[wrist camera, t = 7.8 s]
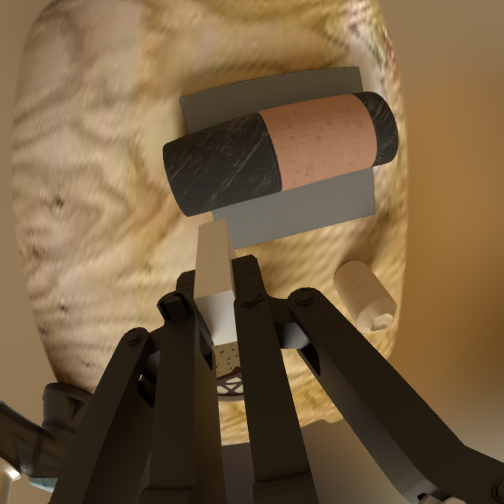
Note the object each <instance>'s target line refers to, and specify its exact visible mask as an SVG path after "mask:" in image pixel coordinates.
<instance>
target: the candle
mask: <svg viewBox="0 0 504 504" xmlns="http://www.w3.org/2000/svg"><path fill="white" fill-rule="evenodd" d="M333 282H334V286H335V289H336V290H337V292H338V294H339V296H340V298H341V299H342V301H343V303H344V305H345V307H346V308H347V310H348V312H349V314H350V316H351V317H352V319H353V321H354V323H355V325H356V327H357V328H358V330H359V331H361V332H363V333H375V332H378V331H381V330H383V329H386V328H387V327H389V326H390V325H392V323H393V319H394V316H395V313H396V310H397V305H396V303H395V301H394V300H393V298H392V297H391V296H390V294H389V293H388V292H387V290H386V289H385V288H384V286H383V285H382V284H381V282H380V281H379V280H378V278H377V277H376V276H375V275H374V273H373V272H372V271H371V269H370V268H369V267H368V266H367V265H366V264H365V263H364V262H362V261H360V260H352V261H349V262H347V263H345V264H343V265H342V266H341V267H340V268H339V269H338V270H337V271H336V273H335V275H334V280H333Z"/></svg>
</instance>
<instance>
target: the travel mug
mask: <svg viewBox="0 0 504 504" xmlns="http://www.w3.org/2000/svg"><path fill="white" fill-rule="evenodd" d="M397 150H398V130H397V125H396V121H395V118H394V116H393V113H392V111H391V109H390V107H389V106H388V104H387V103H386V101H385V100H384V99H383V98H382V97H381V96H380V95H378V94H377V93H374V92H360V93H352V94H345V95H338V96H331V97H325V98H319V99H314V100H308V101H303V102H298V103H293V104H288V105H283V106H279V107H274V108H270V109H266V110H262V111H258V112H257V113H255V112H254V113H251V114H247V115H244V116H241V117H238V118H235V119H231V120H228V121H225V122H222V123H219V124H216V125H213V126H211V127H208V128H205V129H202V130H199V131H197V132H194V133H191V134H189V135H186V136H183V137H181V138H178V139H176V140H173V141H171V142H169V143H167V144H165V145H164V146H163V160H164V166H165V170H166V174H167V178H168V181H169V184H170V187H171V190H172V193H173V195H174V197H175V200H176V202H177V204H178V206H179V207H180V209H181V211H182V212H183V213H184V215H186V216H187V217H189V216H194V215H198V214H201V213H205V212H208V211H212V210H215V209H219V208H222V207H226V206H230V205H233V204H237V203H241V202H244V201H248V200H252V199H255V198H259V197H263V196H267V195H271V194H275V193H278V192H280V191H281V192H282V191H286V190H289V189H293V188H296V187H300V186H303V185H307V184H310V183H314V182H317V181H321V180H324V179H328V178H332V177H335V176H339V175H343V174H347V173H350V172H354V171H358V170H362V169H366V168H370V167H374V166H378V165H382V164H386V163H389V162H391V161H392V160H393V159H394V157H395V156H396V153H397Z"/></svg>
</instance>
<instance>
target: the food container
mask: <svg viewBox="0 0 504 504" xmlns="http://www.w3.org/2000/svg"><path fill="white" fill-rule="evenodd" d="M212 348H213V350H214V352H215V355H216V374H217V391H218V401H223V402H236V401H243V400H244V393H243V385H242V377H241V369H240V360H239V352H238V343H237V341H235V342H230V343H226V344H221V345H217V346H215V345H214V343H213V340H212ZM280 350H281V349H280ZM281 354H282V351H281ZM282 358H283V355H282Z"/></svg>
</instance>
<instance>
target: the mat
mask: <svg viewBox="0 0 504 504" xmlns="http://www.w3.org/2000/svg"><path fill="white" fill-rule="evenodd" d="M360 92H363V87H362V82H361V76H360V71H359V67H342V68H329V69H319V70H310V71H301V72H294V73H287V74H280V75H274V76H268V77H263V78H257V79H252V80H247V81H242V82H238V83H233V84H229V85H225V86H221V87H217V88H213V89H209V90H205V91H201V92H198V93H194V94H191V95H187V96H184V97H181V98H179V100H180V103H181V107H182V110H183V114H184V118H185V121H186V125H187V128H188V132H189V134H191V133H194V132H197V131H199V130H202V129H205V128H208V127H211V126H213V125H216V124H219V123H222V122H225V121H228V120H231V119H235V118H238V117H241V116H244V115H247V114H251V113H254V112H255V113H257V112H258V111H262V110H266V109H270V108H274V107H279V106H283V105H288V104H293V103H298V102H303V101H308V100H314V99H319V98H325V97H331V96H338V95H345V94H352V93H360ZM212 213H213V217H214V220H215V221H218V220H222V219H225V221H226V224H227V227H228V231H229V234H230V238H231V241H232V244H233V248H234V250H236V249H239V248H243V247H247V246H251V245H255V244H259V243H263V242H267V241H271V240H275V239H279V238H283V237H286V236H290V235H294V234H298V233H302V232H306V231H310V230H314V229H318V228H322V227H326V226H330V225H334V224H338V223H342V222H346V221H350V220H354V219H358V218H362V217H366V216H370V215H374V214H375V203H374V183H373V169H372V167H370V168H366V169H362V170H358V171H354V172H350V173H347V174H343V175H339V176H335V177H332V178H328V179H324V180H321V181H317V182H314V183H310V184H307V185H303V186H300V187H296V188H293V189H289V190H286V191H282V192H281V191H280V192H278V193H275V194H271V195H267V196H263V197H259V198H255V199H252V200H248V201H244V202H241V203H237V204H233V205H230V206H226V207H222V208H219V209H215V210H212Z"/></svg>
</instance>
